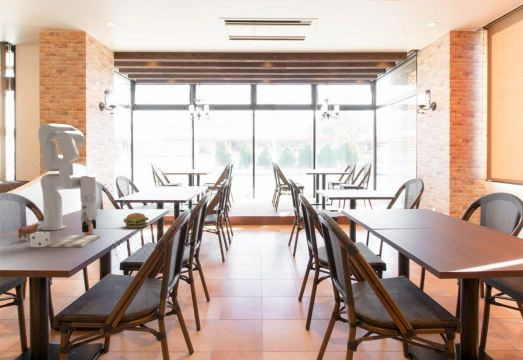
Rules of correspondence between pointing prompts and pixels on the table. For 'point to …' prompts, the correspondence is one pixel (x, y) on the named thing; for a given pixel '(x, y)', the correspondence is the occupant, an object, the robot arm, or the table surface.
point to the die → (39, 239)
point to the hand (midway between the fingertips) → (89, 230)
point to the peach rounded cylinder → (90, 228)
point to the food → (135, 220)
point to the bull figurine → (28, 230)
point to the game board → (74, 241)
